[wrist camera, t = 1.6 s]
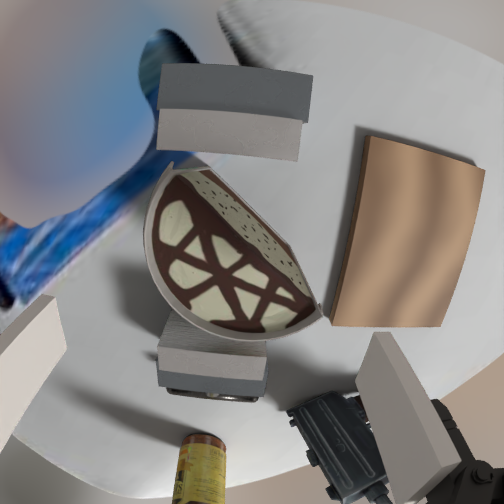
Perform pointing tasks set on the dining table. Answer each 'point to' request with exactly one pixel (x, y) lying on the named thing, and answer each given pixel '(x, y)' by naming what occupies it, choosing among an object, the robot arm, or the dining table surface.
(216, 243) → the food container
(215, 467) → the sauce bottle
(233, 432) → the dining table surface
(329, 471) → the gun
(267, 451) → the dining table surface
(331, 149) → the dining table surface
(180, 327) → the grey blocks
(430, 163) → the light brown board
